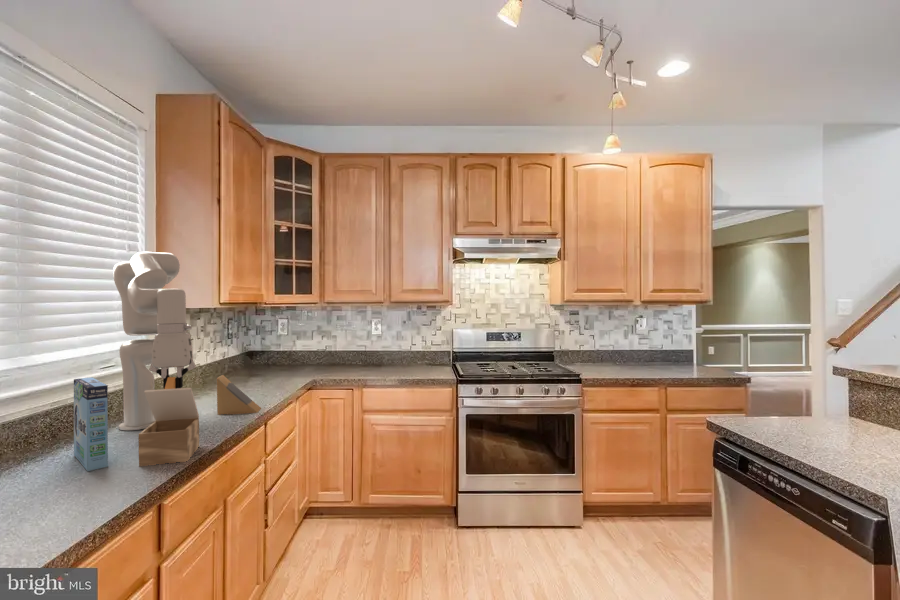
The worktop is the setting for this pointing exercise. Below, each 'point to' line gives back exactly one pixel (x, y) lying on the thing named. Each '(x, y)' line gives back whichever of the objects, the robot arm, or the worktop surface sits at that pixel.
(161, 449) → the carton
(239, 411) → the sandwich container
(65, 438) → the worktop surface
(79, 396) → the gum box
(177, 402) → the lid
